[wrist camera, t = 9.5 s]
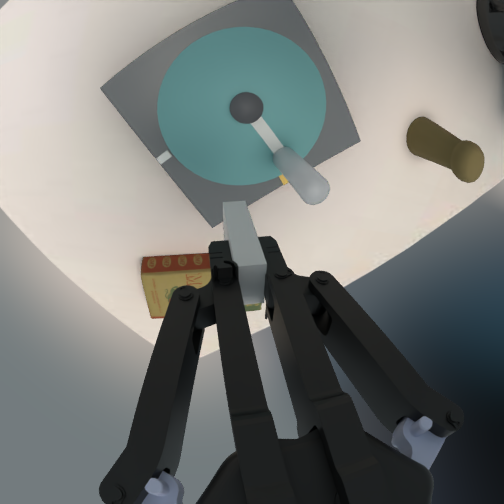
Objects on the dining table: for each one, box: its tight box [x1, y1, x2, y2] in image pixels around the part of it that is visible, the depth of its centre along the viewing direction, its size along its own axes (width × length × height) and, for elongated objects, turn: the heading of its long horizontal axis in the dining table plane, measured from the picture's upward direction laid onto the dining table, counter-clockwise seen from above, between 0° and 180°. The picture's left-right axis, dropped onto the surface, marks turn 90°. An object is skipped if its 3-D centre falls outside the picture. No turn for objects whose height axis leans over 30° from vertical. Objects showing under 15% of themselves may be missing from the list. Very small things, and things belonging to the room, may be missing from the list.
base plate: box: [100, 0, 360, 228], centre depth 25 cm, size 20×20×2 cm
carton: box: [141, 253, 262, 319], centre depth 37 cm, size 8×16×4 cm, turn 85°
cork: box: [407, 117, 484, 183], centre depth 27 cm, size 6×6×11 cm
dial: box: [157, 27, 330, 205], centre depth 20 cm, size 16×16×10 cm
